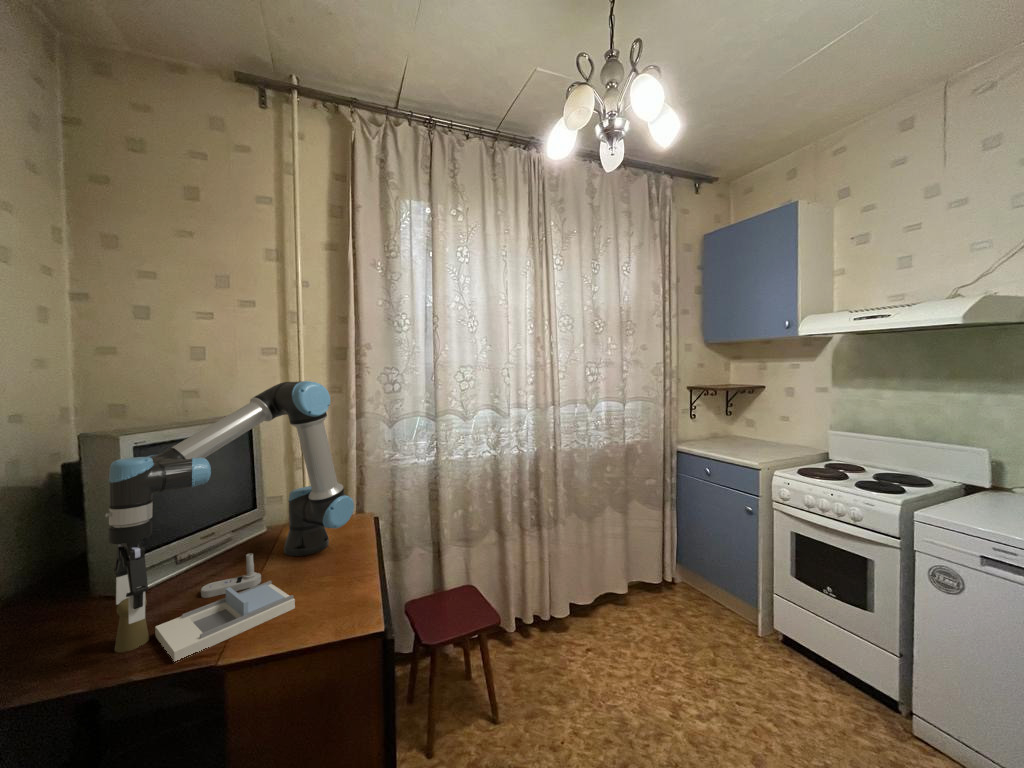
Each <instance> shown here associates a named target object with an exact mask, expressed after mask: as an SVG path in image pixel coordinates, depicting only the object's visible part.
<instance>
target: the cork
mask: <svg viewBox="0 0 1024 768" xmlns="http://www.w3.org/2000/svg"><path fill="white" fill-rule="evenodd" d="M147 601H148V600H147V598H146V597H145V607H146V606H147V603H148V602H147ZM128 606H129V598H126V599H124V600H123V601H121V602H120V603H119V604H117V605H116V613H117V616H119V620H118V626H117V631H116V638H115V645H114V649H113V650H114V652H115V653H126V651H127V652H130V651H133V650H136V649H137V648H140V647H142V646H143V645H145V644H146V643H147V642H148V641H149V640H150V635H149V631H148V625H147V620H146V618H145V619H142V620H140V621H137V622H134V623H131V624H129V623H128ZM141 645H142V646H141ZM139 646H140V647H139Z"/></svg>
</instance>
